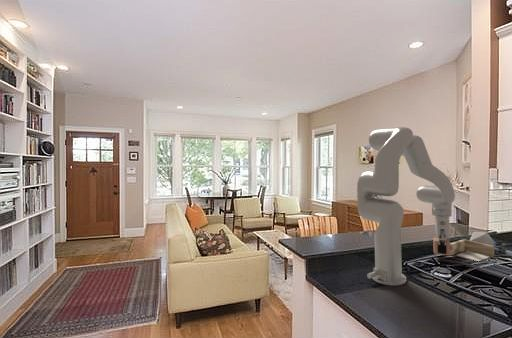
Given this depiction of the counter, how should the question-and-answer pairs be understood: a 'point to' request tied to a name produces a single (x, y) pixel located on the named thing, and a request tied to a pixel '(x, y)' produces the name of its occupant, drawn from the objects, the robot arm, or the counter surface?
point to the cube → (435, 246)
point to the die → (482, 238)
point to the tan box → (472, 250)
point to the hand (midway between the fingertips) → (441, 250)
